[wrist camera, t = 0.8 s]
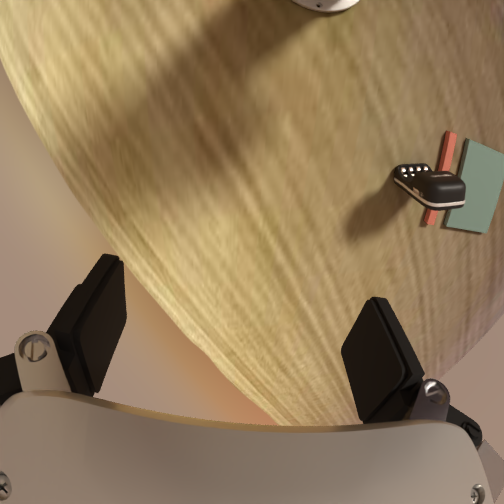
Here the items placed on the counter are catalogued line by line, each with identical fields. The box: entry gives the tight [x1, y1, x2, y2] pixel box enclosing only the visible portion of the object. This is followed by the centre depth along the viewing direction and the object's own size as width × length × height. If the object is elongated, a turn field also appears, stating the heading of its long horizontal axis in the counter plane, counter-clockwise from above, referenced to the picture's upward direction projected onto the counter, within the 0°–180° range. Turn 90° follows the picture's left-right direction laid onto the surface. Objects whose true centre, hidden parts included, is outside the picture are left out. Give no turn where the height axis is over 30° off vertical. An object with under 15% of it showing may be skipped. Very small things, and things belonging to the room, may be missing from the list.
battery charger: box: [394, 163, 466, 211], centre depth 36 cm, size 7×4×11 cm, turn 99°
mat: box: [444, 138, 504, 233], centre depth 41 cm, size 16×12×1 cm
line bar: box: [424, 131, 457, 225], centre depth 40 cm, size 16×2×1 cm, turn 175°
